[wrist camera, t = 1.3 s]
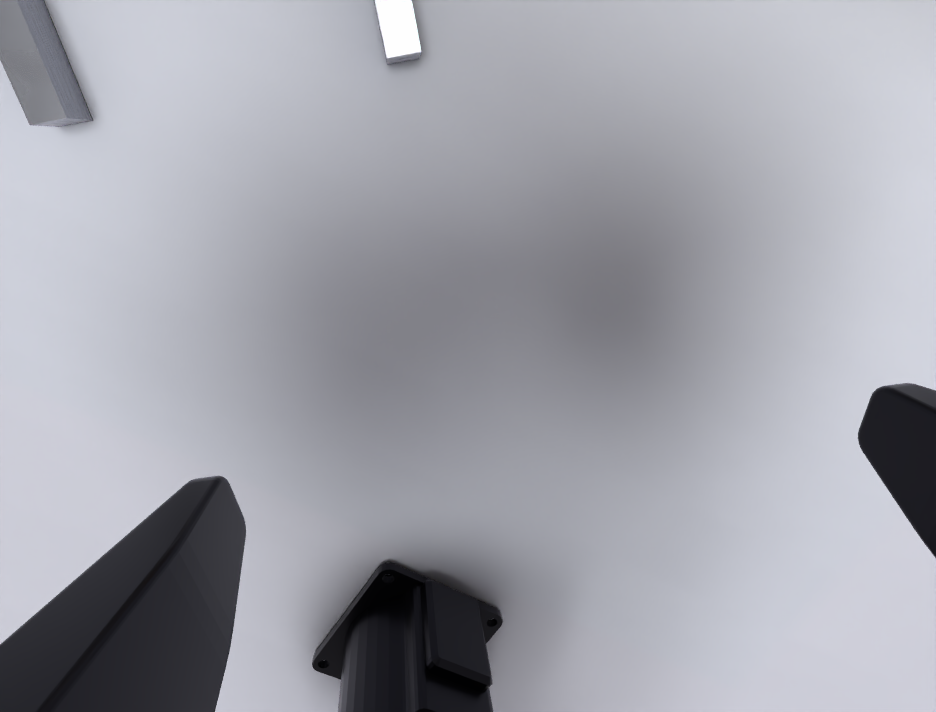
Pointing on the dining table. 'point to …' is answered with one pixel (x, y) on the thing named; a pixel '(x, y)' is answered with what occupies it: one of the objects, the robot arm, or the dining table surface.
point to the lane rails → (54, 85)
